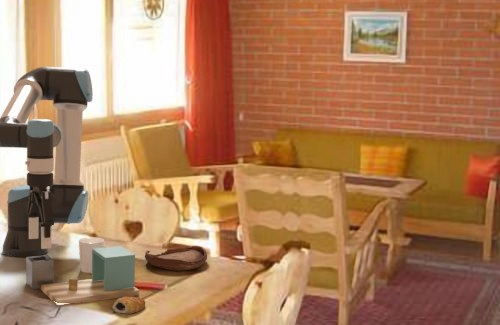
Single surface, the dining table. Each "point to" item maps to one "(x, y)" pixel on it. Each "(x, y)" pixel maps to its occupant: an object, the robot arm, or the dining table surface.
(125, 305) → the pastry
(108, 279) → the housing cover
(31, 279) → the block
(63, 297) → the pin board
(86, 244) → the white cup
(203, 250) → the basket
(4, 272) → the dining table surface
